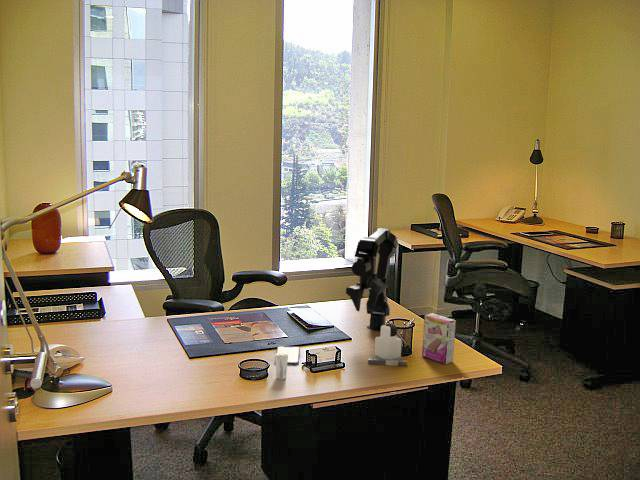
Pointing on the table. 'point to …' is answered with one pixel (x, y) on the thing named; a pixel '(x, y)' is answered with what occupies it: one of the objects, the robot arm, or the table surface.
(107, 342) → the table surface
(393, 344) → the medicine bottle
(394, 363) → the marker pen
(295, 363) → the phone case
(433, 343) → the candy bar box
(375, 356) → the slate mat
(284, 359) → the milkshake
